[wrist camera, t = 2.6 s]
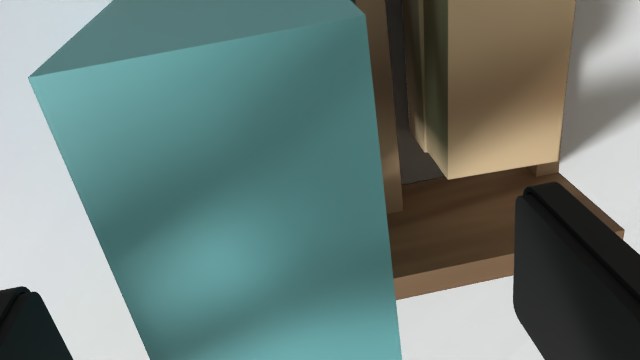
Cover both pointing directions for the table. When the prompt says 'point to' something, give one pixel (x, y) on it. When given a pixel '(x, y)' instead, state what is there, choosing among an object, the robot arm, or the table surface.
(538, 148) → the offcut upper
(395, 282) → the offcut rack
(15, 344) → the robot arm
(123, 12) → the teal sheet
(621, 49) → the table surface
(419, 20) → the offcut lower
